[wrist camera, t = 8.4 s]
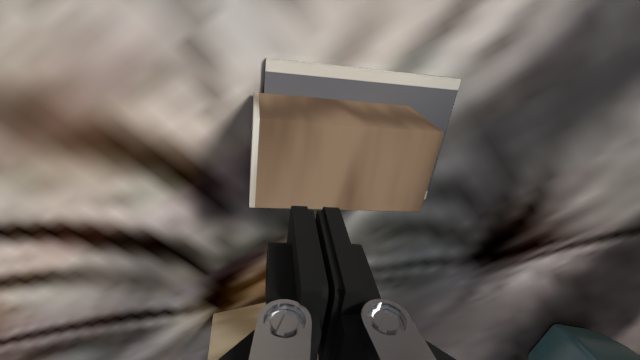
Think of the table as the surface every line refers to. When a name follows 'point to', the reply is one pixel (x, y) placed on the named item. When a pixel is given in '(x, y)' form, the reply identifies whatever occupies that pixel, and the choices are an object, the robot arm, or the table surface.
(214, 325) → the oak block
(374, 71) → the grey rectangular panel
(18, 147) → the table surface
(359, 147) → the walnut block
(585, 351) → the flower pot
